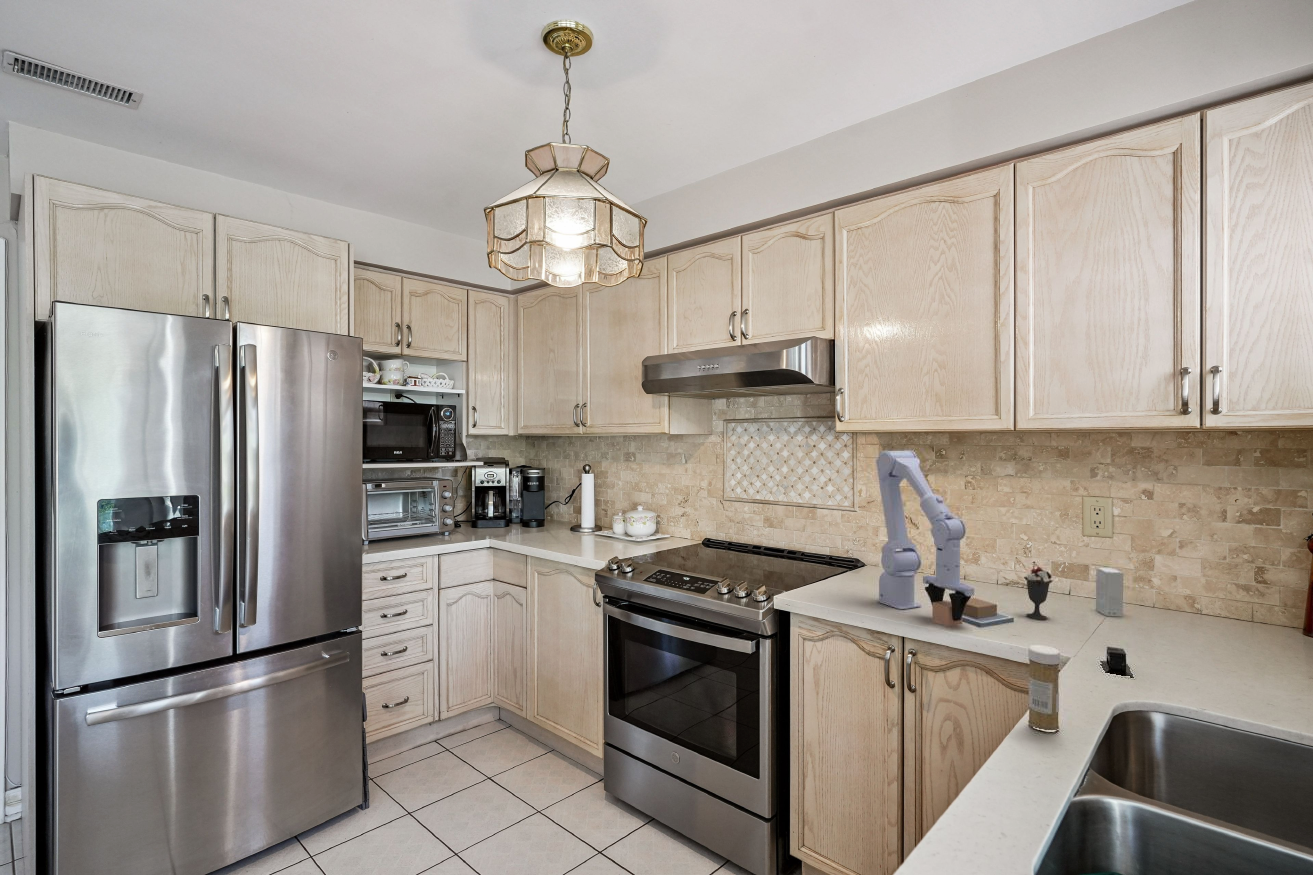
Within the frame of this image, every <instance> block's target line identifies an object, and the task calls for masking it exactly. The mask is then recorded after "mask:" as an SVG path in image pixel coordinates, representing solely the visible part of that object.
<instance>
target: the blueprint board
mask: <svg viewBox="0 0 1313 875" xmlns="http://www.w3.org/2000/svg"><path fill="white" fill-rule="evenodd" d="M1014 620H1015V618H1014V617H1012V616H1010V615H1006V614H1003V613H1000V612H998V604H996V603H993V602H990V601H987V600H983V599H979V598H976V597H971V598H970V599H969V601H968V602H967V604H966V606H965V608H964V611H963V614H962V622H964V623H967V624H970V625H973V626H976V627H979V628H986V627H991V626H997V625H1002V624H1007V623H1008V624H1009V623H1013V622H1014Z"/></svg>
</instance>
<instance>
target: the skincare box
mask: <svg viewBox="0 0 1313 875" xmlns="http://www.w3.org/2000/svg"><path fill="white" fill-rule="evenodd" d="M1095 570H1096V576H1095V611H1097V612H1099V613H1101V614H1102V615H1104V616H1106V617H1119V618H1122V617H1123V616H1124V614H1123V612H1124V572H1122V571H1120V570H1117V569H1115V568H1113V567H1096V568H1095Z"/></svg>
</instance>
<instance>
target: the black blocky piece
mask: <svg viewBox="0 0 1313 875" xmlns="http://www.w3.org/2000/svg"><path fill="white" fill-rule="evenodd" d="M1105 654H1106V655H1105V656H1106V657H1105V658H1106V660H1103V661H1100V662H1101V663H1102V664H1100V665H1101V666H1102V668H1103V670H1104V671H1105V673H1110V674H1116V675H1121V676H1130V678H1134V677H1133V674H1132V673H1131V671H1130V668H1131V666H1130V665H1129V666H1130V667H1129V666H1128V664H1129V663H1127V653H1126V652H1125V649H1124V648H1120V647H1112V646H1106V653H1105ZM1100 665H1099V666H1100Z"/></svg>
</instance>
